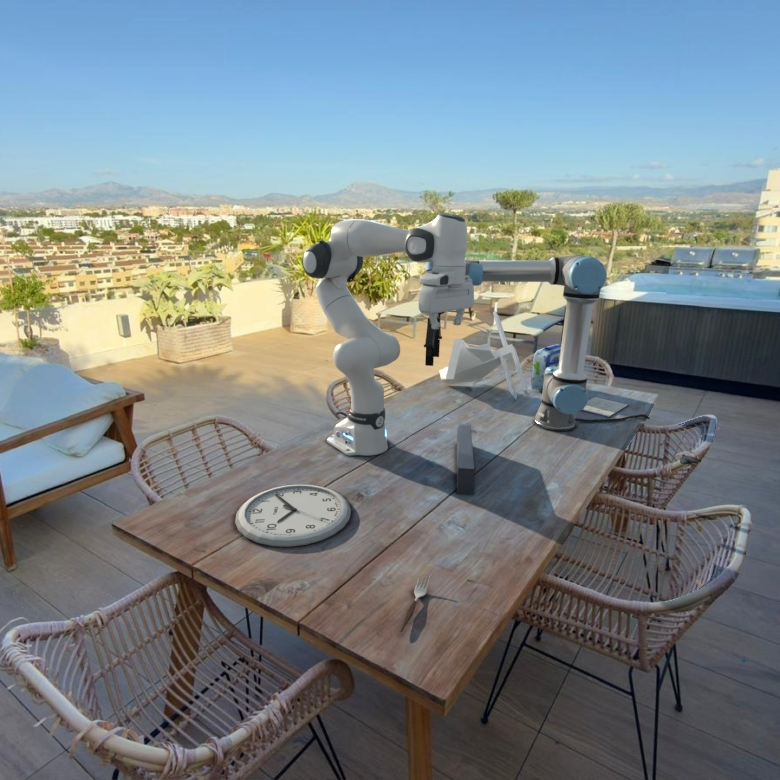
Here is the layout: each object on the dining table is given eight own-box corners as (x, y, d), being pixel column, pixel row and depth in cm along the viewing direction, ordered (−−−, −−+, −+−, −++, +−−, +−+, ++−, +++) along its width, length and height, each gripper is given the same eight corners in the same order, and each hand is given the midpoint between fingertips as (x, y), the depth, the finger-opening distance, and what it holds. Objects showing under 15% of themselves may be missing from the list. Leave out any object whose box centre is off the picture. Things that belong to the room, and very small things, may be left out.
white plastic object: (461, 429, 252) (437, 405, 227) (444, 352, 274) (420, 323, 250) (535, 404, 240) (518, 377, 215) (510, 326, 262) (492, 293, 237)
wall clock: (351, 538, 125) (223, 542, 122) (351, 544, 125) (223, 548, 123) (350, 480, 153) (246, 482, 151) (350, 485, 154) (246, 487, 151)
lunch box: (547, 396, 238) (552, 351, 232) (526, 391, 246) (531, 347, 239) (574, 385, 256) (579, 343, 250) (554, 380, 263) (559, 340, 257)
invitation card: (608, 416, 214) (573, 407, 224) (608, 416, 214) (573, 408, 224) (628, 404, 229) (594, 396, 238) (628, 405, 229) (594, 397, 238)
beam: (456, 444, 185) (457, 423, 182) (469, 444, 184) (470, 423, 182) (456, 493, 151) (458, 468, 148) (472, 494, 150) (474, 469, 148)
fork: (394, 632, 98) (394, 623, 98) (419, 581, 113) (419, 573, 112) (407, 636, 97) (407, 627, 97) (430, 584, 112) (431, 576, 111)
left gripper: (463, 274, 152) (460, 321, 156) (415, 277, 138) (413, 329, 142) (481, 275, 147) (477, 324, 151) (433, 279, 134) (431, 332, 138)
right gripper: (430, 297, 195) (427, 352, 201) (417, 306, 172) (415, 368, 178) (450, 298, 193) (447, 353, 199) (440, 307, 170) (437, 370, 176)
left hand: (446, 326), depth 147 cm, fingers open, 8 cm apart
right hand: (432, 361), depth 189 cm, fingers open, 13 cm apart
